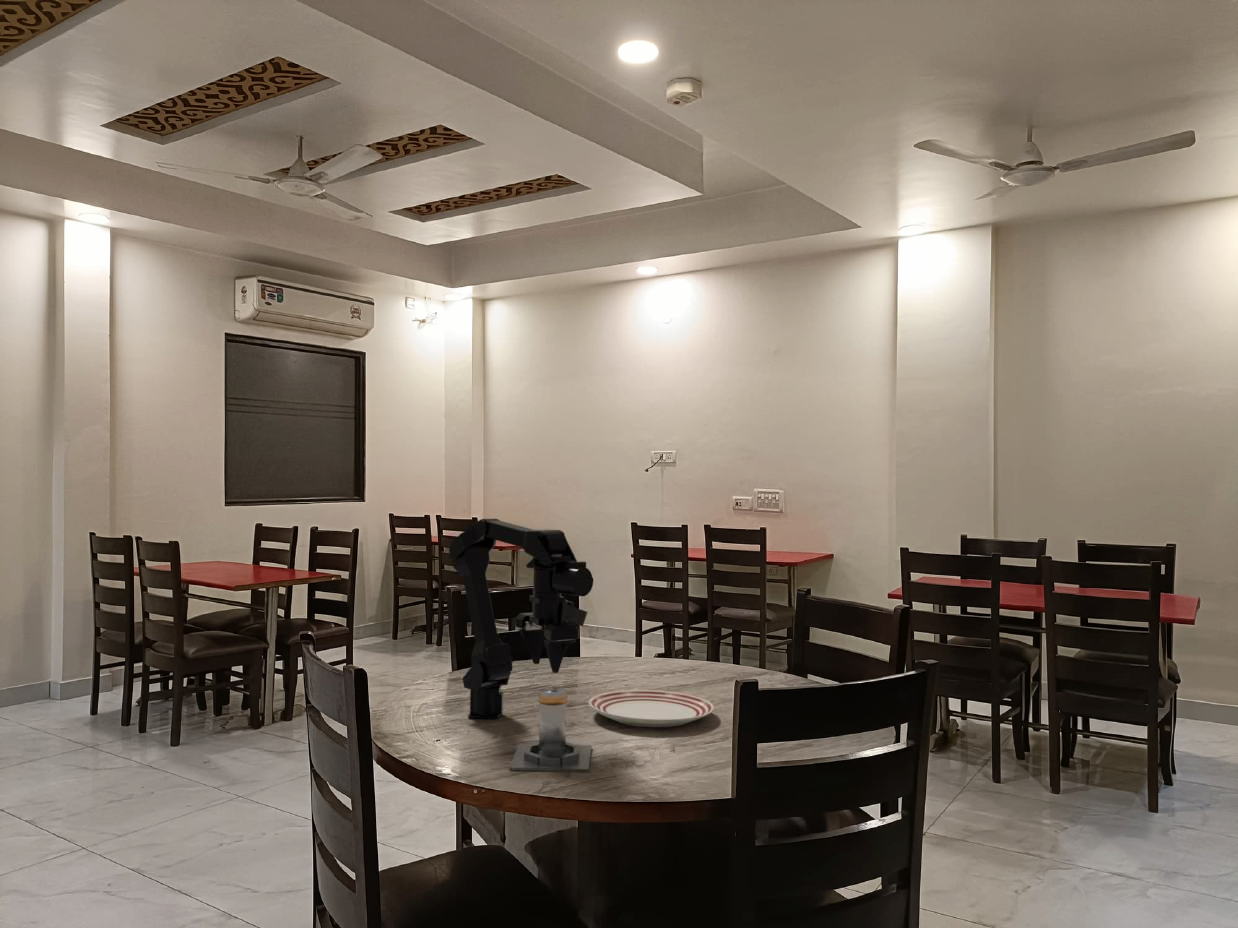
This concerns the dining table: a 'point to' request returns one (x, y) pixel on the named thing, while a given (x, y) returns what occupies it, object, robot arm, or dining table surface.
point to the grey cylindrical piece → (552, 721)
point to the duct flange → (551, 759)
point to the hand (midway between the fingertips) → (545, 668)
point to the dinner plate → (650, 707)
